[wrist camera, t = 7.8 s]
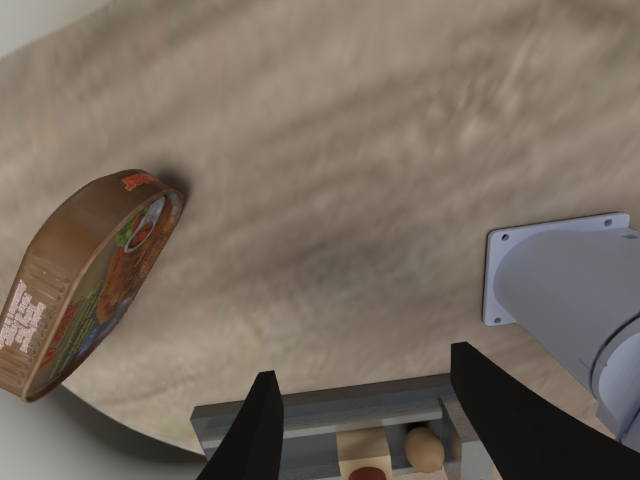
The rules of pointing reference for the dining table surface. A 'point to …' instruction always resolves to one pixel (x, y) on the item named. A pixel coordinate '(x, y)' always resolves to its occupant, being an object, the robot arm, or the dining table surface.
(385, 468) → the press slider
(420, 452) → the nut
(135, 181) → the tin
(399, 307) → the dining table surface
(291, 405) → the base
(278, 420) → the robot arm
